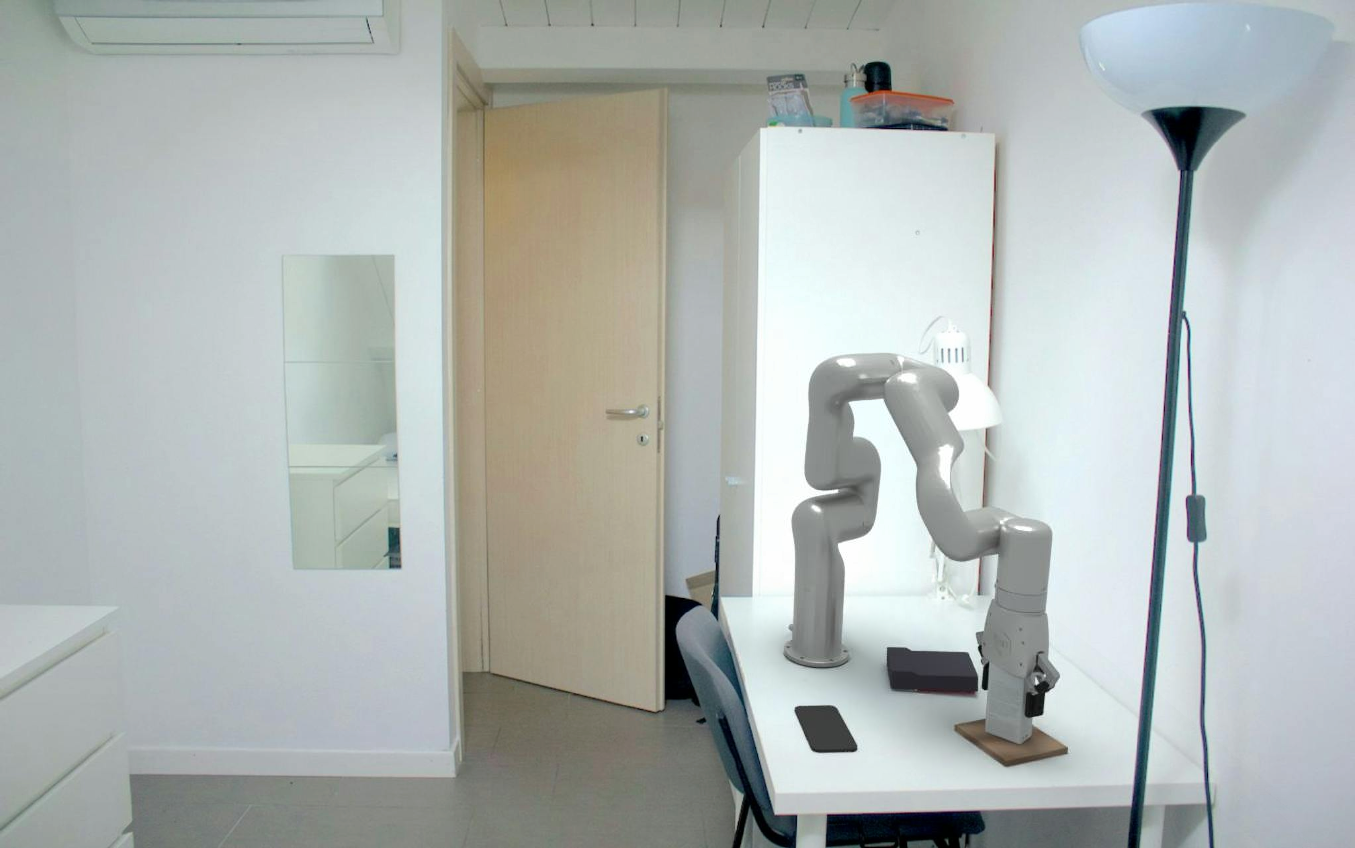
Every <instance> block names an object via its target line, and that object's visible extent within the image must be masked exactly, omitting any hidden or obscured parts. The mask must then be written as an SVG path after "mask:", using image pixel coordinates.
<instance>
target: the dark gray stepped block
mask: <svg viewBox="0 0 1355 848" xmlns="http://www.w3.org/2000/svg"><path fill="white" fill-rule="evenodd" d="M886 667H887V668H886V669H887V675H888V678H889V684H890V688H891V689H892V690H893V691H909V692H911V691H912V692H914V691H917V692H918V693H935V694H936V693H938V694H939V693H940V694H941V693H942V694H967V695H968V694H970V695H971V694H973V695H974V694H975V693H977V692H979V675H978V672H977V670H976V668H975V667H976V666H975V665H974V662H973V660H972V658H971V655H970V653H969V652H967V651H947V650H945V651H942V650H912V649H910V648H908V647H905V646H902V647H901V646H887V647H886Z"/></svg>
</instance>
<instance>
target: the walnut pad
mask: <svg viewBox="0 0 1355 848" xmlns="http://www.w3.org/2000/svg"><path fill="white" fill-rule="evenodd" d="M985 722H986V718H981V719H975V720H971V721H966V722H961V723H956V724H954V729H953V730H954V731H955V732H956V733H958V734H959V735H960V736H962V737H963V738H965V739H966V740H967V741H969V742H970V743H971V744H972V745H974V746H976V747H977V748H978V749H980V750H981V751H983V752H984V753H986V754H987V755H988V756H990V757H991V758H993V759H994V760H995V761H996V762H997V763H1000V764H1001V765H1003V766H1004V767H1005V768H1009V767H1012V766H1017V765H1022V764H1026V763H1030V762H1031V763H1032V762H1035V761H1040V760H1044V759H1048V758H1052V757H1056V756H1062V755H1066V754H1068V752H1069V746H1067V745H1065V744H1063V742H1060V741H1059V740H1057V739H1056V738H1054V737H1052V736H1050V734H1048V733H1046V732H1045V731H1043V730H1041V729H1039V728H1038V727H1037V726H1035V725H1033V724H1032V734H1031V737H1029V738H1028V739H1027V740H1025V741H1024V742H1023V743H1021V744H1017V743H1014V742H1011V741H1009V740H1006V739H1003V738H1001V737H998V736H995V735H993V734H990V733H987V732H985Z"/></svg>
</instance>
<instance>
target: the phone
mask: <svg viewBox="0 0 1355 848" xmlns="http://www.w3.org/2000/svg"><path fill="white" fill-rule="evenodd" d="M794 713H795V715H796V718H797V720H798V722H799V724H800V726H801V728H802V731H803V734H804V737H805V739H806V741H807V743H808V746H809V747H810V750H811V751H812V752H813V753H816V754H817V753H819V754H820V753H821V754H826V753H827V754H828V753H829V754H831V753H832V754H833V753H854V752H857V751H858V743H857V742H856V740H855V738H854V736H853V735H852V733H851V731H850V729H849V727H848V725H847V724H846V722H845V720H844V718H843V716H842V715H841V713H840V711H839V709H838V707H836V706H835V705H832V704H831V705H830V704H829V705H828V704H821V705H820V704H819V705H814V704H813V705H797V706H795V707H794Z"/></svg>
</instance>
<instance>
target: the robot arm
mask: <svg viewBox="0 0 1355 848" xmlns="http://www.w3.org/2000/svg"><path fill="white" fill-rule="evenodd" d="M807 394H808V395H807V396H808V397H807V398H808V422H807V423H808V424H807V431H806V432H807V433H806V443H805V454H804V466H803V467H804V470H803V471H804V473H803V474H804V477H805V481H806V482H807V484H808V486H810V487H811V488H813V489H814V490H817V491H821V492H822V491H823V492H826V491H827V492H828V491H835V490H837V492H834V493H828V494H827V493H826V494H821V495H815V496H812V497H809V498H807V499H805V500H803V501H801V502H800V503H798V504H797V506H796V507H795V508H794V509H793V512H792V516H791V531H792V537H793V543H794V544H793V545H794V586H793V587H794V588H793V589H794V591H793V611H792V614H793V617H792V623H790V624H788V630H789V631H791V639H790V640H789V641H787V642H786V643H785V644H784V646H783V653H784V655H785V657H786V658H788V659H789V660H790V661H792V662H793V663H796V664H799V665H802V666H808V667H813V668H831V667H837V666H840V665H843V664H844V663H846V662H848V660H849V659H850V650H849V648H848V647H847V646H846V645H845V644H844V643H842V641H843V622H844V606H845V605H844V604H845V603H844V601H845V578H846V577H845V576H846V566H845V562H844V558H843V556H842V554H841V551H840V549H839V544H841V543H844V542H848V541H854V540H856V539H860V538H863V537H865V536H867V535H868V534H869V533H870V532H871V531H872V529H873V527H874V525H875V522H876V518H877V512H878V503H879V493H880V486H881V485H880V484H881V477H882V476H881V474H882V462H881V457H880V453H879V452H878V449H877V448H876V447H877V446H875V445H874V443H872V442H871V440H869V439H867V438H865V437H863V436H854V431H855V415H854V412H853V409H852V406H851V405H850V403H851V402H860V401H861V402H862V401H872V400H875V401H876V400H883V403H884V404H885V406H886V409H887V411H888V413H889V414H890V417H891V419H892V420H893V423H894V424H895V426H896V427H897V430H898V432H899V434H900V436H901V437H902V440H903V441H904V444H905V445H906V447H907V449H908V452H909V453H910V455H911V456H912V459H913V461H914V463H915V464H916V466H915V467H916V474H915V476H916V477H915V498H916V506H917V509H918V512H919V516H920V518H921V520H922V521H923V524H924V525H925V527H926V529H927V531H928V534H929V535H930V536H931V538H932V541H933V543H934V544H935V545H936V547H937V549H939V551H940V552H941V553H942V554H943V555H944V556H945V557H947V558H948V559H950V560H951V561H953V562H954V561H955V562H960V563H961V562H962V563H965V562H970V561H973V560H977V559H980V558H982V557H987V556H994V555H997V565H996V566H997V567H996V568H997V569H996V577H995V579H996V580H995V583H994V588H995V589H994V590H995V592H994V598H993V599H991V601H990V603H989V606H988V609H987V613H986V617H985V621H984V627H983V630H982V631H977V632H975V638H976V643H977V645H978V646H977V651H978V652H979V655H980V657H981V658H980V664H981V665H982V666H983V667H982V677H981V689H982V690H983V691H988V678H989V662H990V661H991V662H992V663H994V664H995V665H997V666H998V667H1000V668H1001V669H1003V670H1005V671H1007V672H1008V673H1010V674H1012V675H1014V676H1015V677H1017V678H1020V679H1024V678H1025V680H1026V683H1027V685H1028V688H1029V690H1030V692H1027V693H1026V702H1025V713H1024V714H1025V716H1026V717H1027V718H1032V717H1033V718H1036V717H1037V718H1038V717H1040V716H1041V717H1042V716H1043V715H1044V714H1045V713H1044V712H1045V711H1044V709H1045V702H1046V700H1045V699H1046V693H1049V692H1050V691H1051V690H1053V689H1054V688H1055V687H1056V685H1057V683H1058V681H1059V680H1060V677H1061V674H1060V672H1059V671H1058V670H1057V668H1056V667H1055V666H1054V664H1053V663H1052V662H1051V660H1050V659H1049V653H1050V651H1049V650H1050V633H1049V629H1050V628H1049V620H1048V619H1049V618H1048V613H1046V611H1047V602H1048V600H1047V599H1048V588H1049V578H1050V567H1051V559H1052V558H1051V556H1052V547H1053V546H1052V545H1053V530H1052V528H1051V526H1050V525H1048V524H1047V523H1046V522H1043V521H1040V520H1037V519H1032V518H1027V517H1026V518H1025V517H1020V516H1018V515H1016V514H1013V513H1011V512H1009V511H1007V510H1006V509H1005V510H1004V509H1003V508H1000V507H995V506H984V507H980V508H976V509H971V510H966V511H964V510H963V508H962V505H961V504H960V502H959V500H958V499H957V496H956V494H955V492H954V489H953V488H954V487H953V485H952V472H953V471H952V470H953V467H954V464H955V462H956V461H957V459H958V458H959V457H960V456H961V454H962V453H963V451H964V449H965V443H964V439H963V438H962V436H961V434H960V433H959V431H958V429H957V427H956V425H955V424H954V422H953V420H952V418H951V416H950V415H949V413H950V412H952V411H953V410H954V409H955V408H956V407H957V405H958V402H959V399H960V388H959V386H958V383H957V381H956V379H955V378H954V376H952V375H951V373H949V372H948V371H946V370H945V369H943V368H941V367H940V366H935V365H932V364H929V363H926V362H922V361H919V360H917V359H913V358H910V357H907V356H904V355H900V354H897V353H894V352H893V353H892V352H872V353H871V352H869V353H850V354H849V353H847V354H842V355H836V356H832V357H829V358H828V359H825V360H823V361H822V362H820V363H819V364H818V365H817V366H816V367H815V368H814V370H813V372H812V373H811V376H810V378H809V382H808V391H807ZM1033 677H1035V679H1036V680H1037V683H1038V684H1036V681H1035V682H1034V679H1033Z"/></svg>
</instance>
